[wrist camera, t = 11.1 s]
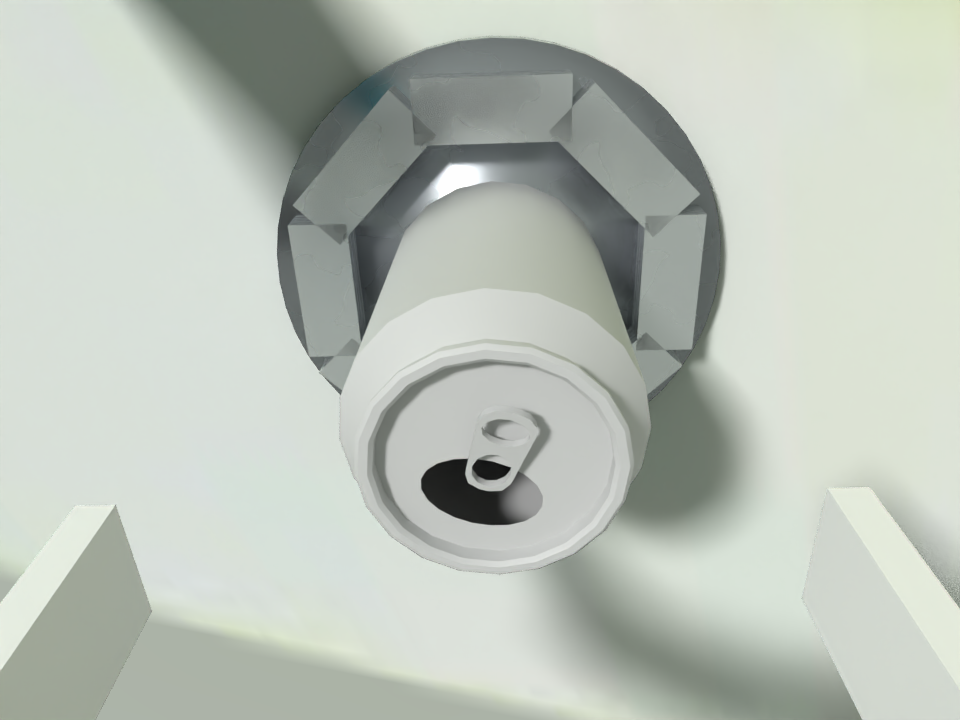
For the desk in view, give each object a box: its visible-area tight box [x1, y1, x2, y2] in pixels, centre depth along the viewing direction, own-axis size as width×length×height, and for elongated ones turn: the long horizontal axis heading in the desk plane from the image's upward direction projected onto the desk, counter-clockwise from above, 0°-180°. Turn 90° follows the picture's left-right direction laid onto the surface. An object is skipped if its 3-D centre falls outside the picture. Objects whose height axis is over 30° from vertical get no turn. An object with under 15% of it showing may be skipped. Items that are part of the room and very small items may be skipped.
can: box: [339, 181, 651, 574], centre depth 21 cm, size 8×8×12 cm
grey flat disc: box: [277, 36, 721, 402], centre depth 27 cm, size 16×16×2 cm
